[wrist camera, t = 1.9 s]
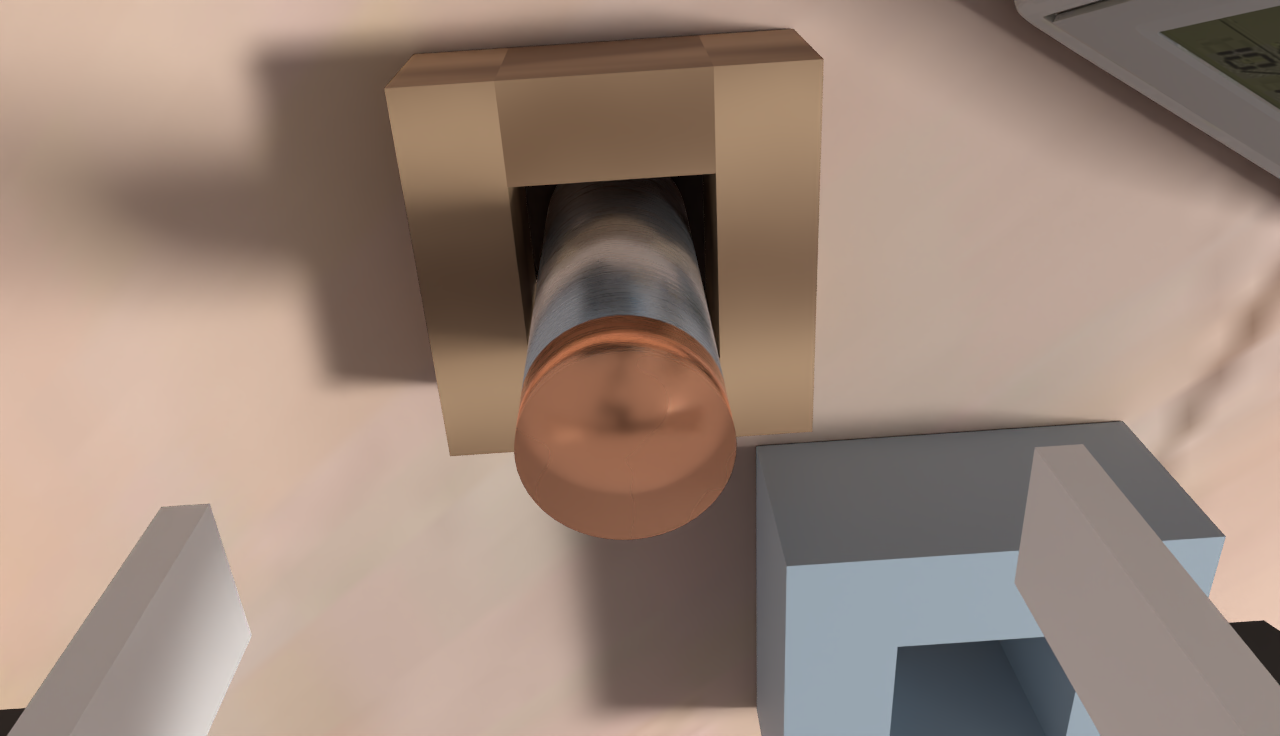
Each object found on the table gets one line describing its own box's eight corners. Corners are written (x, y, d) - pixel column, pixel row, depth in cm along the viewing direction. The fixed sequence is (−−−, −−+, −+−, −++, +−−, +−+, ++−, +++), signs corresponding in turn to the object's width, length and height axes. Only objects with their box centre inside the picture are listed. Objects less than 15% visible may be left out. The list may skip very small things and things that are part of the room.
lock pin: (540, 158, 27) (500, 360, 17) (683, 148, 27) (735, 345, 17) (554, 289, 29) (527, 546, 19) (688, 280, 29) (738, 532, 19)
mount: (413, 54, 26) (383, 88, 22) (793, 28, 26) (823, 59, 22) (467, 384, 31) (450, 456, 27) (787, 363, 31) (812, 431, 27)
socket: (756, 446, 32) (786, 566, 27) (1123, 421, 32) (1225, 536, 27) (756, 708, 38) (781, 849, 32) (1067, 687, 38) (1143, 824, 33)
